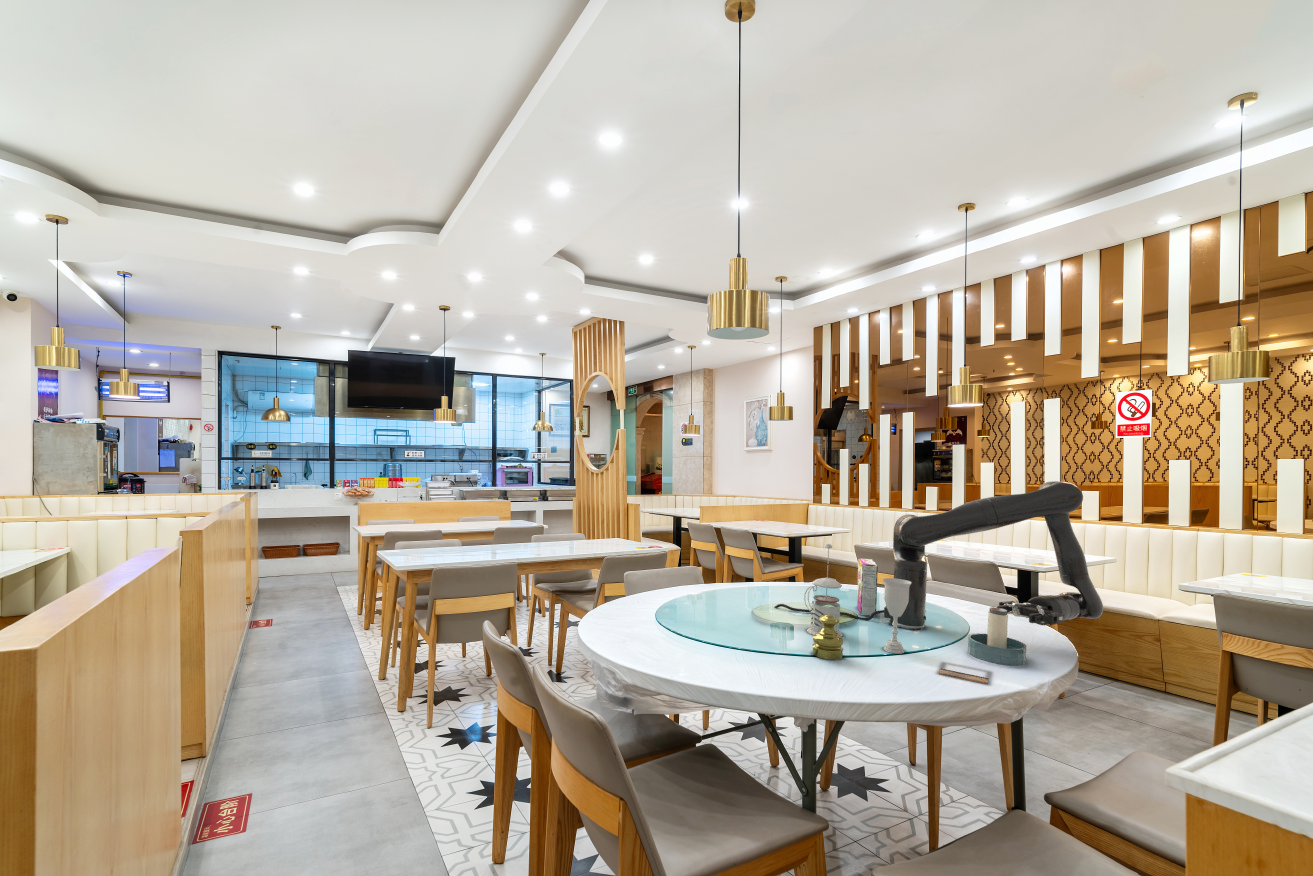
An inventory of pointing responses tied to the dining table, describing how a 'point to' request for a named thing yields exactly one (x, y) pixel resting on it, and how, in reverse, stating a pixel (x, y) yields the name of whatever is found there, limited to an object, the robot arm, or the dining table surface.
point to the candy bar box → (867, 587)
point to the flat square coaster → (963, 676)
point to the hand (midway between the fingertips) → (1014, 614)
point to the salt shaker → (828, 640)
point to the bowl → (997, 650)
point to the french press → (824, 603)
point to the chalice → (896, 608)
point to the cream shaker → (997, 627)
